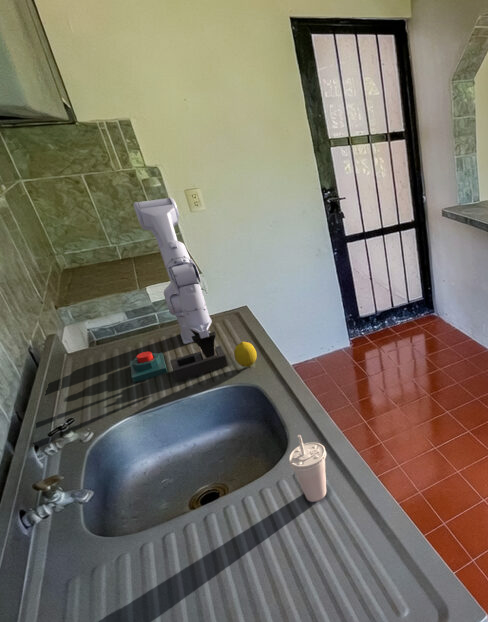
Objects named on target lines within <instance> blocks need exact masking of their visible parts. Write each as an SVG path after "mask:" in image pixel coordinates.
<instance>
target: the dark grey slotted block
mask: <svg viewBox="0 0 488 622" xmlns="http://www.w3.org/2000/svg"><path fill="white" fill-rule="evenodd" d="M214 347H215V351H216V354H217V356H213V357H210V358H207V359H203V357H202V354H201V351H197V352H194V353H190V354H186V355H183V356H179V357H177V358H173V359H170V366H171V368H172V371H173V375H174V378H175V381H176V382H181V381H184V380H188V379H190V378H194V377H197V376H200V375H203V374H206V373H210V372H213V371H217V370H219V369H222V368H225V367H228V366H229V363H228V360H227V357H226V354H225V353H224V350H223V348H222V346H221V345H218V346H214Z"/></svg>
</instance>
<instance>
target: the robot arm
mask: <svg viewBox="0 0 488 622" xmlns="http://www.w3.org/2000/svg"><path fill="white" fill-rule="evenodd" d="M132 205H133V208H134V211H135V214H136V218H137V220H138V222H139V225H140V227H141V228H142V230H143V231H149V232H151V233H152V235H153V236H154V237H155V240H156V243H157V246H158V249H159V253H160V255H161V258H162V261H163V264H164V267H165V270H166V273H167V276H168V278H169V281H170V283H169V284H168V285H167V286H166V287H165V288H164V289H163V297H164V300H165V304H166V307H167V310H168V312H169V314H170V315H172V316H175V317H176V320H177V324H178V326H179V330H180V333H179V334H180V337H181V340H182V343H183V345H188V344H191V343H195V344H197V345H198V348H199V347H200V348H201V350H202V352H203V354H204V355H205V357H206V358H208V357H212V356H214V355H215V350H214V347H215V339H216V336H217V333H216V331H210V327H211V324H212V323H213V321H212V318H211V317H210V313H209V310H208V306H207V303H206V300H205V296H204V293H203V289H202V287H201V281H202V279H201V275H200V272H199V269H198V266H197V265H196V263H195V262H194V260H193V259H192V258H191V257H190V255H189V252H188V250H187V247H186V245H185V244H184V243H183V242H181V241H179V240H178V237H177V234H176V230H175V227H176V226H177V225H178V224H179V222H180V212H179V208H178V207H177V203H176V200H175V199H174V198H173V197H171V196H170V197H169V196H168V197H166V198H158V199H152V200H145V201H144V200H143V201H134V203H133V204H132ZM200 348H199V349H200Z"/></svg>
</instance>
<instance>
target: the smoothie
mask: <svg viewBox="0 0 488 622" xmlns="http://www.w3.org/2000/svg"><path fill="white" fill-rule="evenodd" d="M297 440H298V444H299V445H298V446H297V447H295V448H294V449H293V450H292V451H291V452H290V453H289V456H288V463H289V466H290V468H291V469H292V470H293V471H294V474H295V476H296V478H297V481H298V483H299V484H300V487H301V490H302V492H303V494H304V496H305V499H306V500H307V501H308V502H312V503H315V502H320V501H321V500H322V499H324V498H325V496H326V495H327V478H326V476H327V475H326V457H327V451H326V448H325V446H324V445H323V444H321V443H319V442H312V441H311V442H306V443H304V442H303V438H302V435H301V434H298V435H297Z"/></svg>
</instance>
